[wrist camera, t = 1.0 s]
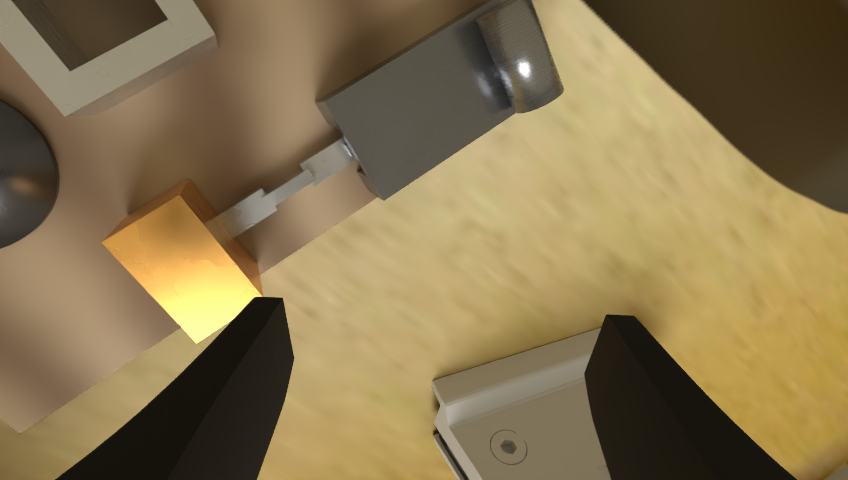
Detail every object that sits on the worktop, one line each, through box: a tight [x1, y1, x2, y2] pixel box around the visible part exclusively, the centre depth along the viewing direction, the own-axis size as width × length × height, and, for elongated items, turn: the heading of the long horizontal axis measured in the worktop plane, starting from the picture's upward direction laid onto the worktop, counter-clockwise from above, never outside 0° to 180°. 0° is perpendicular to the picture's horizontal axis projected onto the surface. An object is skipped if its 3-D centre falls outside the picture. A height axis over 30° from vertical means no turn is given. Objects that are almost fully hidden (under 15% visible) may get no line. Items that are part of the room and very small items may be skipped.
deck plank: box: [0, 0, 483, 433], centre depth 20 cm, size 30×16×1 cm, turn 119°
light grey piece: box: [432, 328, 611, 480], centre depth 30 cm, size 17×5×10 cm, turn 95°
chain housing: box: [315, 0, 564, 200], centre depth 21 cm, size 10×5×5 cm, turn 119°
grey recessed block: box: [0, 0, 218, 117], centre depth 16 cm, size 5×5×4 cm
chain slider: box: [101, 136, 357, 343], centre depth 21 cm, size 18×5×4 cm, turn 119°
